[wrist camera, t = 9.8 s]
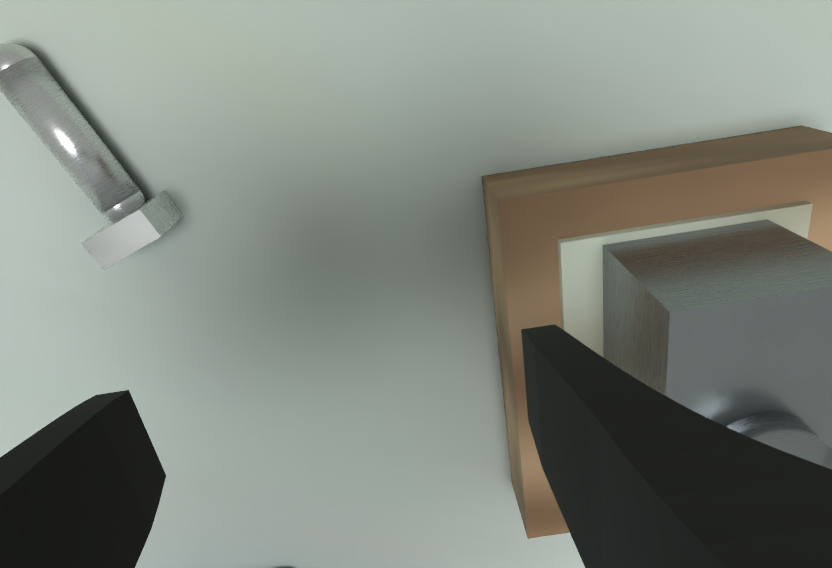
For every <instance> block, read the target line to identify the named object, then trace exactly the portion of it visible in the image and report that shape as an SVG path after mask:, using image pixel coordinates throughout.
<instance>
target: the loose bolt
mask: <svg viewBox="0 0 832 568" xmlns="http://www.w3.org/2000/svg"><path fill="white" fill-rule="evenodd" d="M0 91H1V92H2V93H3V94H4V96H5V97H6V98H7V99H8V100H9V102H10V103H11V104H12V105H13V107H14V108H15V109H16V110H17V111H18V113H19V114H20V115H21V116H22V118H23V119H24V120H25V121H26V122H27V124H28V125H29V126H30V127H31V128H32V130H33V131H34V132H35V133H36V135H37V136H38V137H39V138H40V139H41V141H42V142H43V143H44V144H45V145H46V147H47V148H48V149H49V150H50V152H51V153H52V154H53V155H54V156H55V158H56V159H57V160H58V161H59V162H60V164H61V165H62V166H63V167H64V169H65V170H66V171H67V172H68V173H69V175H70V176H71V177H72V178H73V180H74V181H75V182H76V183H77V184H78V186H79V187H80V188H81V189H82V190H83V192H84V193H85V194H86V195H87V197H88V198H89V199H90V200H91V201H92V203H93V204H94V205H95V206H96V207H97V209H98V210H99V211H100V212H101V214H102V215H103V216H104V217H106V218H107V219H108V220H110V221H112V222H110V223H109V224H108V225H106V226H105V227H103V228H102V229H101V230H99V231H98V232H97V233H95V234H94V235H92V236H91V237H90V238H88V239H87V240H86V241H84V242H83V243H81V244H82V245H83V246H84V247H85V248H86V250H87V251H88V252H89V253H90V254H91V255H92V257H93V258H94V259H95V260H96V261H97V262H98V263H99V265H100V266H101V267H102V268H103V269H106V268H108V267H109V266H111V265H113V264H114V263H116V262H118V261H120V260H121V259H123V258H125V257H127V256H128V255H130V254H132V253H134V252H135V251H137V250H139V249H141V248H142V247H144V246H146V245H147V244H149V243H151V242H153V241H154V240H156V239H158V238H160V237H161V236H162V235H163V234H164V233H165V232H166V231H167V230H168V229H170V228H171V227H172V226H173V225H174V224H175V223H176V222H177V221H178V220H179V219H180V218H181V217H182V216H183V215H182V214H181V212H180V211H179V210H178V208H177V207H176V206H175V204H174V203H173V202H172V200H171V199H170V198H169V196H168V195H167V194H166V192H165V191H163V192H161V193H159V194H157V195H156V196H154V197H152V198H151V199H149V200H147V201H146V202H145V198H144V195H143V193H142V192H141V190H140V189H139V187H138V186H137V185H136V184H135V182H134V181H133V180H132V178H131V177H130V176H129V175H128V173H127V172H126V171H125V169H124V168H123V167H122V166H121V164H120V163H119V162H118V160H117V159H116V158H115V156H114V155H113V154H112V153H111V151H110V150H109V149H108V147H107V146H106V145H105V144H104V142H103V141H102V140H101V138H100V137H99V136H98V135H97V133H96V132H95V131H94V129H93V128H92V127H91V126H90V124H89V123H88V122H87V120H86V119H85V118H84V117H83V115H82V114H81V113H80V111H79V110H78V109H77V107H76V106H75V105H74V104H73V102H72V101H71V100H70V98H69V97H68V96H67V95H66V93H65V92H64V91H63V89H62V88H61V87H60V86H59V84H58V83H57V82H56V80H55V79H54V78H53V77H52V75H51V74H50V73H49V71H48V70H47V69H46V68H45V66H44V65H43V64H42V62H41V61H40V60H39V58H38V57H37V56H36V55H35V54H34V53H33V52H32V51H30V50H29V49H27V48H25V47H23V46H21V45H18V44H13V43H4V44H0Z"/></svg>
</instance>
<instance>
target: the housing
mask: <svg viewBox="0 0 832 568" xmlns="http://www.w3.org/2000/svg"><path fill="white" fill-rule="evenodd" d="M603 358H605V359H606V360H608V361H609V362H611V363H612V364H614V365H615V366H617V367H618V368H620V369H621V370H623V371H625V372H626V373H628V374H629V375H631V376H633V377H634V378H636V379H637V380H639V381H641V382H642V383H644V384H646V385H647V386H649V387H651V388H652V389H654V390H656V391H658V392H660V393H661V394H663V395H665V396H667V397H669V398H670V399H672V400H674V401H676V402H677V403H679V404H681V405H683V406H685V407H687V408H689V409H691V410H692V411H694V412H696V413H698V414H700V415H702V416H704V417H706V418H709V419H711V420H713V421H715V422H717V423H719V424H721V425H724V426H726V427H728V428H730V429H732V430H734V431H737V432H739V433H741V434H743V435H745V436H747V437H750V438H752V439H754V440H757V441H759V442H762V443H764V444H766V445H769V446H771V447H774V448H776V449H779V450H781V451H784V452H787V453H789V454H792V455H795V456H797V457H800V458H802V459H805V460H808V461H810V462H813V463H816V464H818V465H821V466H824V467H826V468H829V469H832V251H830V250H828V249H826V248H824V247H822V246H820V245H818V244H816V243H814V242H812V241H810V240H808V239H806V238H804V237H802V236H800V235H798V234H796V233H794V232H792V231H790V230H788V229H786V228H784V227H782V226H780V225H778V224H776V223H774V222H772V221H770V220H768V219H766V220H759V221H753V222H747V223H740V224H734V225H727V226H721V227H715V228H708V229H702V230H695V231H689V232H683V233H676V234H670V235H663V236H657V237H650V238H644V239H638V240H631V241H625V242H618V243H612V244H606V245H603Z"/></svg>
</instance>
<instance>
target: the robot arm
mask: <svg viewBox="0 0 832 568" xmlns="http://www.w3.org/2000/svg"><path fill="white" fill-rule="evenodd" d="M521 334H522V346H523V359H524V372H525V385H526V398H527V411H528V421H529V425H530V428H531V432H532V435H533V439H534V442H535V446H536V449H537V452H538V455H539V459H540V462H541V465H542V469H543V471H544V473H545V476H546V478H547V480H548V483H549V485H550V487H551V490H552V492H553V494H554V497H555V499H556V501H557V504H558V506H559V508H560V511H561V513H562V515H563V517H564V520H565V522H566V524H567V527H568V529H569V531H570V533H571V536H572V538H573V540H574V543H575V545H576V547H577V549H578V552H579V554H580V556H581V559H582V561H583V563H584V565H585V568H832V469H829V468H826V467H824V466H821V465H818V464H816V463H813V462H810V461H808V460H805V459H802V458H800V457H797V456H795V455H792V454H789V453H787V452H784V451H781V450H779V449H776V448H774V447H771V446H769V445H766V444H764V443H762V442H759V441H757V440H754V439H752V438H750V437H747V436H745V435H743V434H741V433H739V432H737V431H734V430H732V429H730V428H728V427H726V426H724V425H721V424H719V423H717V422H715V421H713V420H711V419H709V418H706V417H704V416H702V415H700V414H698V413H696V412H694V411H692V410H691V409H689V408H687V407H685V406H683V405H681V404H679V403H677V402H676V401H674V400H672V399H670V398H669V397H667V396H665V395H663V394H661V393H660V392H658V391H656V390H654V389H652V388H651V387H649V386H647V385H646V384H644V383H642V382H641V381H639V380H637V379H636V378H634V377H633V376H631V375H629V374H628V373H626V372H625V371H623V370H621V369H620V368H618V367H617V366H615V365H614V364H612V363H611V362H609V361H608V360H606V359H605V358H603V357H602V356H600V355H599V354H597V353H596V352H594V351H593V350H591V349H590V348H589V347H587V346H586V345H584V344H583V343H581V342H580V341H579V340H577V339H576V338H574V337H573V336H571V335H570V334H569V333H567V332H566V331H564V330H563V329H561V328H560V327H558V326H557V325H555V324H553V325H547V326H540V327H534V328H527V329H521ZM165 478H166V475H165V472H164V470H163V468H162V465H161V463H160V461H159V459H158V456H157V454H156V452H155V449H154V447H153V445H152V442H151V440H150V438H149V436H148V433H147V431H146V429H145V426H144V424H143V422H142V420H141V417H140V415H139V413H138V410H137V408H136V406H135V403H134V401H133V399H132V397H131V394H130V392H129V390H126V391H120V392H113V393H107V394H101V395H95V396H94V397H92V398H90V399H88V400H86V401H84V402H83V403H81V404H79V405H78V406H76V407H74V408H73V409H71V410H70V411H68V412H66V413H65V414H63V415H62V416H60V417H59V418H57V419H56V420H54V421H53V422H51V423H50V424H48V425H47V426H45V427H44V428H42V429H41V430H40V431H38V432H37V433H35V434H34V435H32V436H31V437H29V438H28V439H26V440H25V441H24V442H22V443H21V444H19V445H18V446H16V447H15V448H13V449H12V450H11V451H9V452H8V453H6V454H5V455H3V456H2V457H0V568H135V566H136V563H137V561H138V559H139V556H140V554H141V552H142V549H143V547H144V545H145V542H146V540H147V538H148V535H149V533H150V530H151V528H152V525H153V521H154V518H155V515H156V511H157V508H158V505H159V501H160V497H161V493H162V489H163V485H164V481H165Z"/></svg>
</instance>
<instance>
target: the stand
mask: <svg viewBox="0 0 832 568" xmlns="http://www.w3.org/2000/svg"><path fill="white" fill-rule="evenodd" d="M482 181H483V191H484V202H485V212H486V222H487V232H488V242H489V253H490V263H491V273H492V283H493V293H494V304H495V314H496V324H497V334H498V344H499V355H500V365H501V375H502V385H503V396H504V406H505V416H506V426H507V436H508V447H509V457H510V467H511V477H512V485H513V488H514V492H515V495H516V499H517V502H518V506H519V509H520V513H521V516H522V520H523V523H524V527H525V530H526V534H527V537H528V538H535V537H541V536H548V535H555V534H561V533H568V532H570V531H569V529H568V527H567V524H566V522H565V520H564V517H563V515H562V513H561V511H560V508H559V506H558V504H557V501H556V499H555V497H554V494H553V492H552V490H551V487H550V485H549V483H548V480H547V478H546V476H545V473H544V471H543V469H542V465H541V462H540V459H539V455H538V452H537V449H536V446H535V442H534V439H533V435H532V432H531V428H530V425H529V421H528V411H527V398H526V385H525V372H524V359H523V346H522V334H521V329H527V328H534V327H540V326H547V325H553V324H555V325H557V326H558V327H560V328H561V329H563V330H564V331H566V332H567V333H569V334H570V335H571V336H573V337H574V338H576V339H577V340H579V341H580V342H581V343H583V344H584V345H586V346H587V347H589V348H590V349H591V350H593V351H594V352H596V353H597V354H599V355H600V356H602V357H603V245H606V244H612V243H618V242H625V241H631V240H638V239H644V238H650V237H657V236H663V235H670V234H676V233H683V232H689V231H695V230H702V229H708V228H715V227H721V226H727V225H734V224H740V223H747V222H753V221H759V220H766V219H768V220H770V221H772V222H774V223H776V224H778V225H780V226H782V227H784V228H786V229H788V230H790V231H792V232H794V233H796V234H798V235H800V236H802V237H804V238H806V239H808V240H810V241H812V242H814V243H816V244H818V245H820V246H822V247H824V248H826V249H828V250H830V251H832V133H830V132H825V131H821V130H817V129H813V128H809V127H805V126H798V127H792V128H786V129H779V130H773V131H767V132H760V133H754V134H748V135H741V136H735V137H729V138H722V139H716V140H710V141H703V142H697V143H691V144H684V145H678V146H672V147H665V148H659V149H653V150H646V151H640V152H634V153H627V154H621V155H615V156H608V157H602V158H595V159H589V160H583V161H576V162H570V163H564V164H557V165H551V166H545V167H538V168H532V169H526V170H519V171H513V172H507V173H500V174H494V175H488V176H482Z"/></svg>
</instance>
